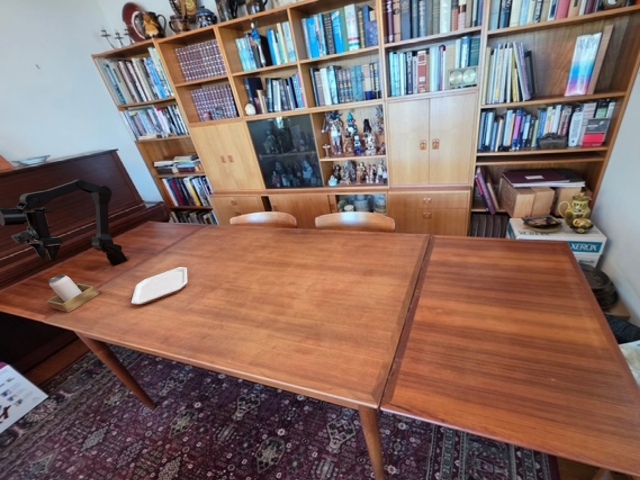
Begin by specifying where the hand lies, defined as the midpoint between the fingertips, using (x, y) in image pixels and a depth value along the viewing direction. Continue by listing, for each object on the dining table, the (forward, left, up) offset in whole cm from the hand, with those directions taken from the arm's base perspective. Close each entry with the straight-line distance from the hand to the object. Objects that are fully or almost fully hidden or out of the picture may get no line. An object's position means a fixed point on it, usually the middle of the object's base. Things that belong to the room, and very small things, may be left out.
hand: (47, 259), depth 129 cm
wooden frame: (-3, +17, -16) cm, 23 cm away
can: (-3, +17, -16) cm, 23 cm away
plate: (-34, +41, -16) cm, 56 cm away
